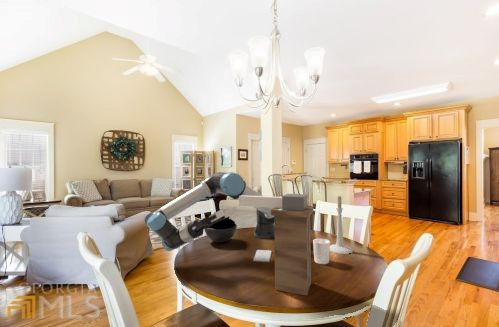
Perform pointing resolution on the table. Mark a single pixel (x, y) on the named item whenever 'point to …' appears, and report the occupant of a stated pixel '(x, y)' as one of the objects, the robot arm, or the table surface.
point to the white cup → (321, 251)
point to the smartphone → (262, 256)
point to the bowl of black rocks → (221, 230)
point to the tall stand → (292, 250)
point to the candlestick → (340, 235)
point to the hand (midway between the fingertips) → (230, 210)
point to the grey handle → (276, 201)
